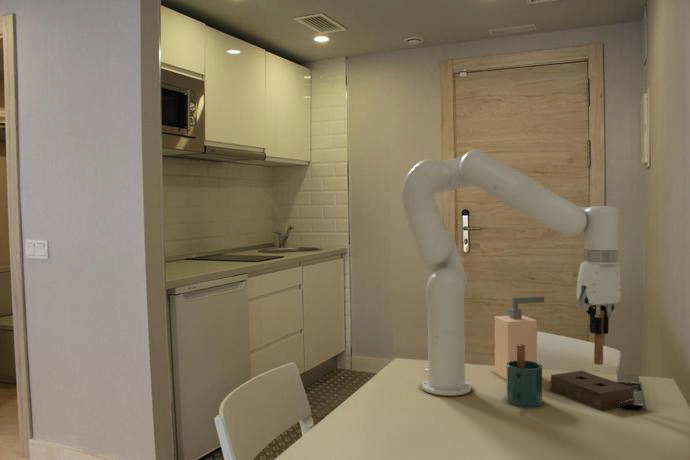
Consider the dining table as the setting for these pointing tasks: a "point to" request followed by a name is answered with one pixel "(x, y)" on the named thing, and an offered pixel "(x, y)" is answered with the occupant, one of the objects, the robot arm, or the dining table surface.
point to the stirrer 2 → (599, 344)
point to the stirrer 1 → (521, 356)
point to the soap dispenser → (515, 335)
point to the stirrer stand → (592, 390)
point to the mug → (524, 384)
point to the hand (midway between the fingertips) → (598, 332)
